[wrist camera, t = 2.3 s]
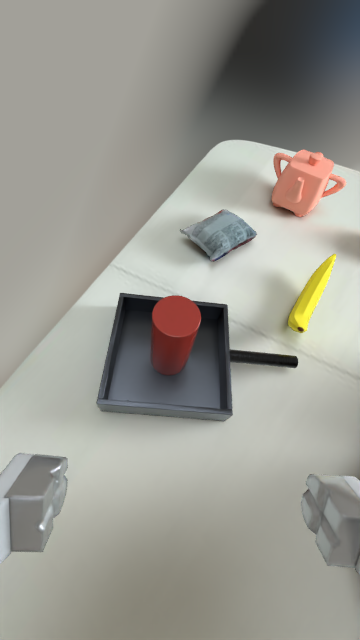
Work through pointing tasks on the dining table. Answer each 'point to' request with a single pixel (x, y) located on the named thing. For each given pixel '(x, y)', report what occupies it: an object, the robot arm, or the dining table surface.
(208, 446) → the dining table surface
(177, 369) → the red cylinder
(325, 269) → the banana
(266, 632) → the dining table surface
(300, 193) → the teapot
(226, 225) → the packaged food
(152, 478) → the dining table surface
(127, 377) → the steel pan
